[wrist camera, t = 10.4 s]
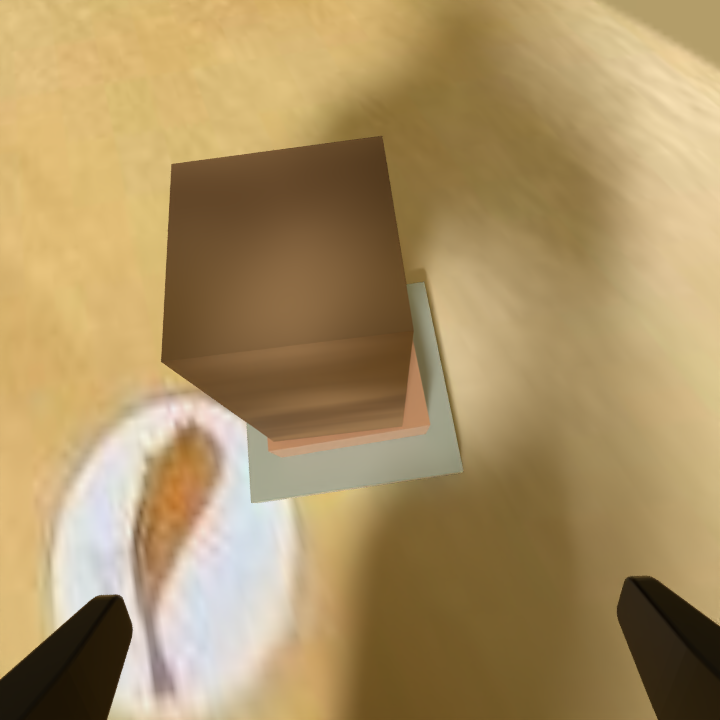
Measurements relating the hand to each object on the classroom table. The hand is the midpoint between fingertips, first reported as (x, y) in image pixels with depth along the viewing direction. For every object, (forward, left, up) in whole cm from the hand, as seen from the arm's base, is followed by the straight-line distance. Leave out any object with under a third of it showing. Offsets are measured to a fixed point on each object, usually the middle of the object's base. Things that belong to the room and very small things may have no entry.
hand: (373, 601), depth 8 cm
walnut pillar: (+6, +4, -10) cm, 13 cm away
